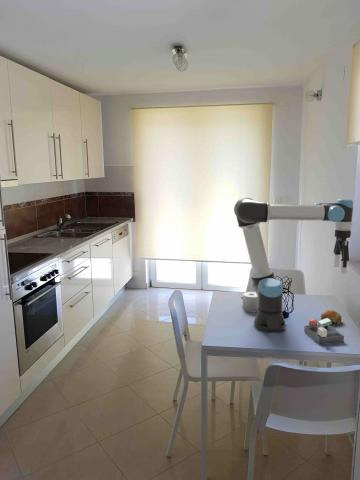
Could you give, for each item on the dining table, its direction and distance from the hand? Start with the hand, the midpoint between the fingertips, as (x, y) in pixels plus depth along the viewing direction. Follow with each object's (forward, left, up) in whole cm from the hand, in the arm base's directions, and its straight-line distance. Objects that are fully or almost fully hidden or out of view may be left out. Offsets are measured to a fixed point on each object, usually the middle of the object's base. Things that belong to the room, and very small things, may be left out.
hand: (339, 270), depth 197 cm
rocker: (-17, -17, -21) cm, 32 cm away
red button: (-23, -17, -21) cm, 36 cm away
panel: (-20, -22, -26) cm, 39 cm away
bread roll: (-7, -6, -26) cm, 27 cm away
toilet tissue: (-41, +21, -26) cm, 53 cm away
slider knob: (-23, -27, -22) cm, 42 cm away
